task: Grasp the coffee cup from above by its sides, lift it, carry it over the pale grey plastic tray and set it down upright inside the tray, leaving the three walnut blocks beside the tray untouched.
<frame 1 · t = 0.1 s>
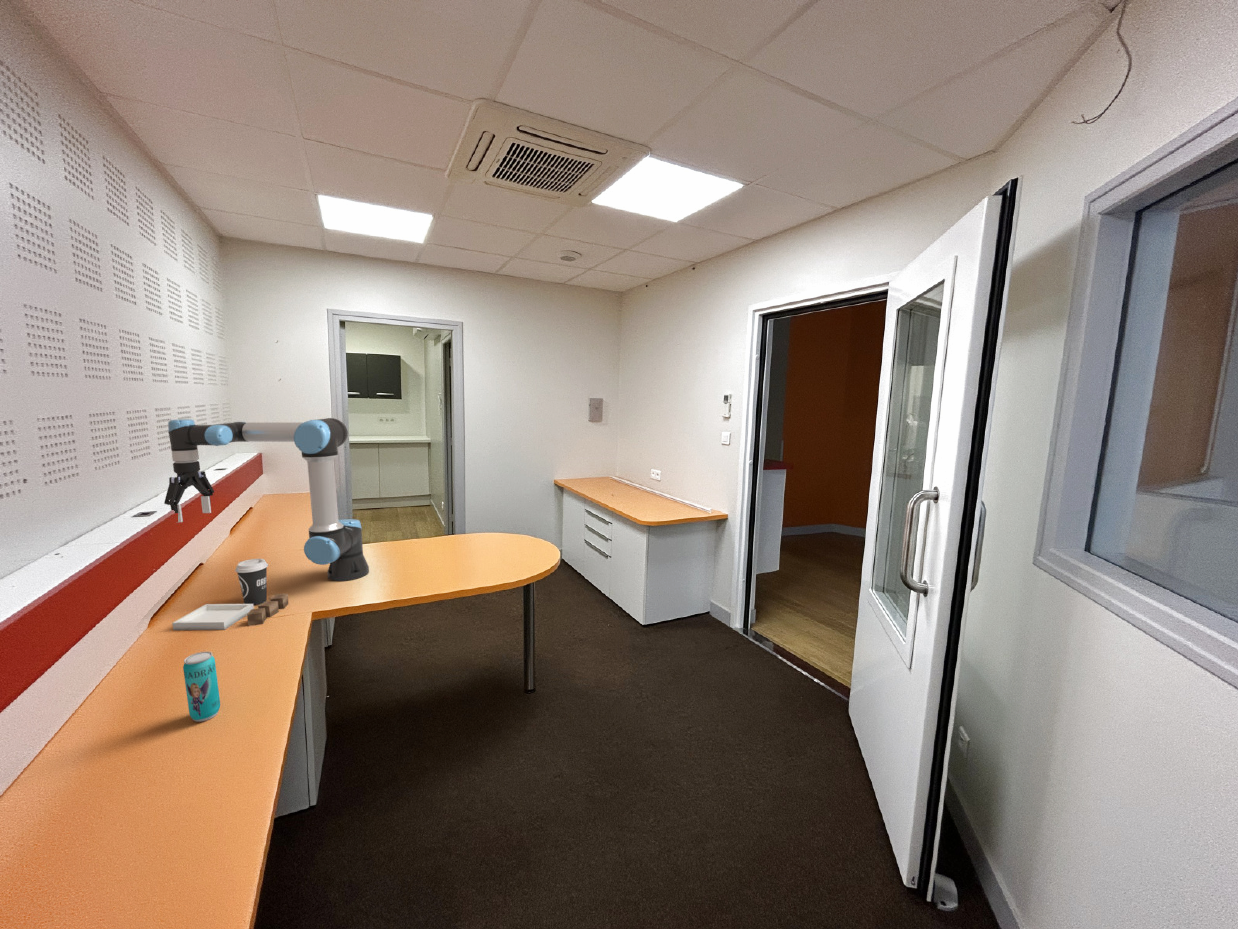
hand: (193, 517, 194), 28 cm above the table, fingers open, 13 cm apart
coffee cup: (255, 602, 185), on the table
beverage can: (206, 716, 122), on the table
block b: (269, 614, 176), on the table
block a: (279, 607, 182), on the table
block c: (257, 622, 170), on the table
tray: (215, 620, 171), on the table
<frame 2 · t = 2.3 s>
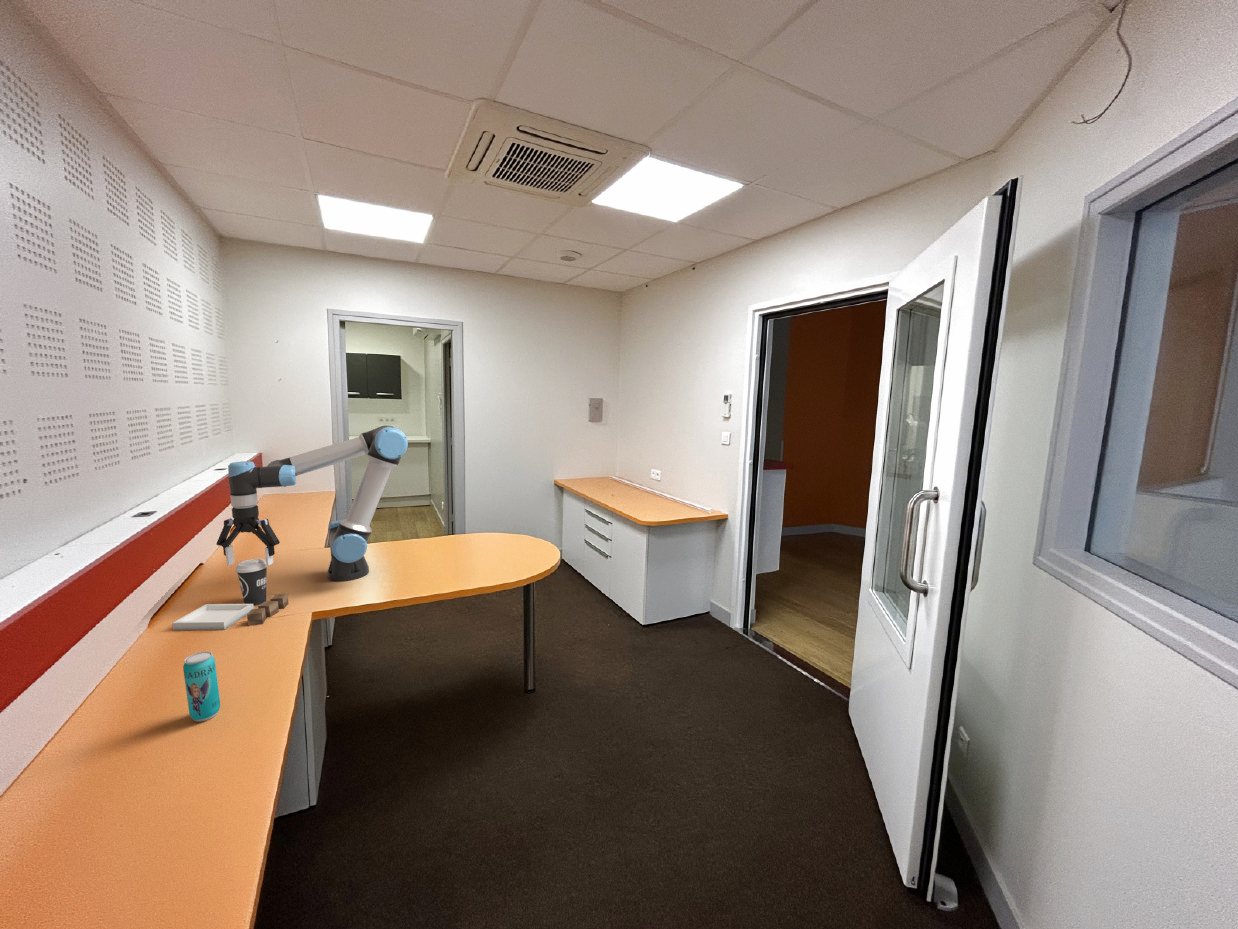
hand: (250, 564, 183), 14 cm above the table, fingers open, 13 cm apart
nothing on the table moved.
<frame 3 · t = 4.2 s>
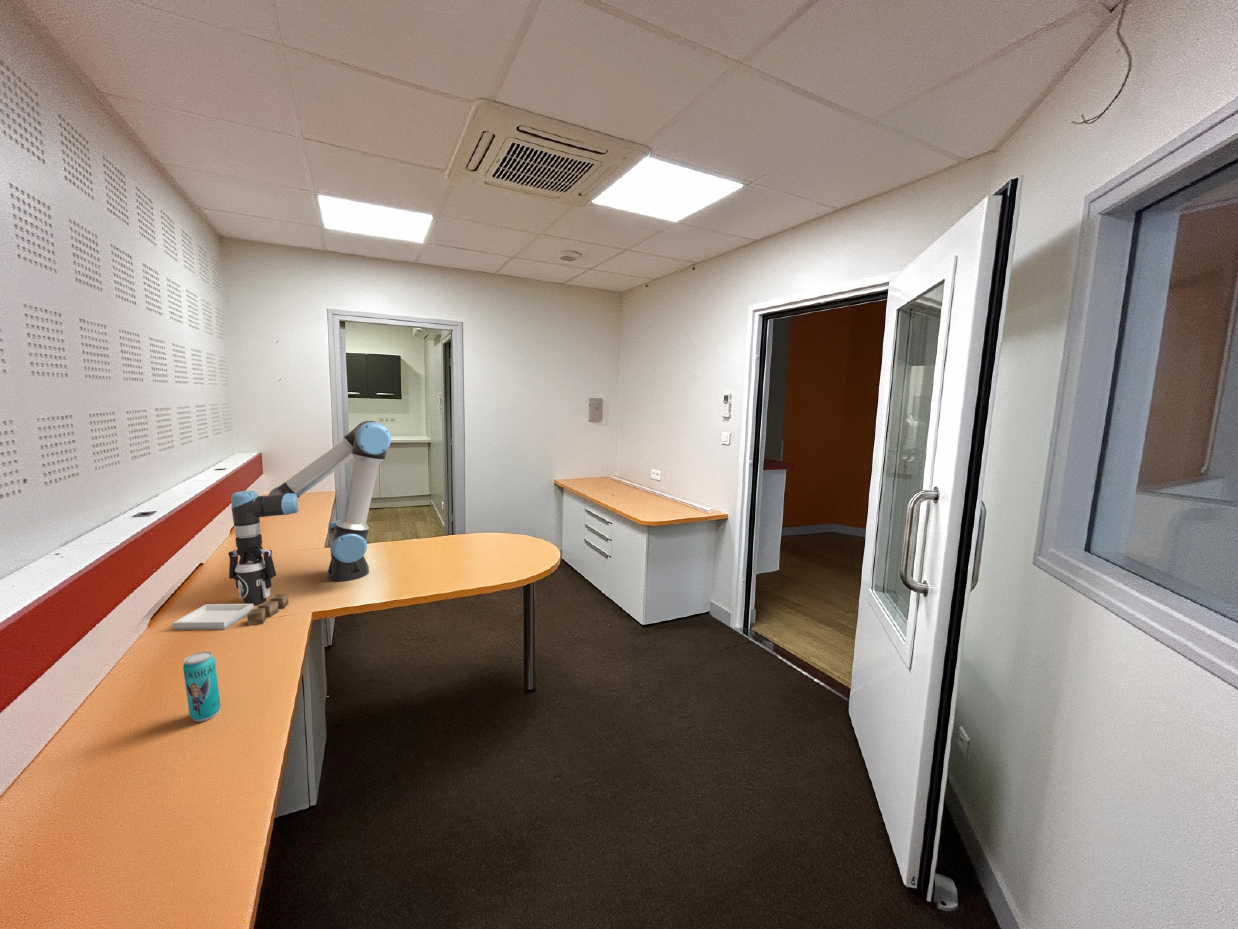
hand: (255, 596, 185), 2 cm above the table, fingers closed on coffee cup, 8 cm apart
coffee cup: (255, 602, 185), on the table, touching gripper
everything else where it was.
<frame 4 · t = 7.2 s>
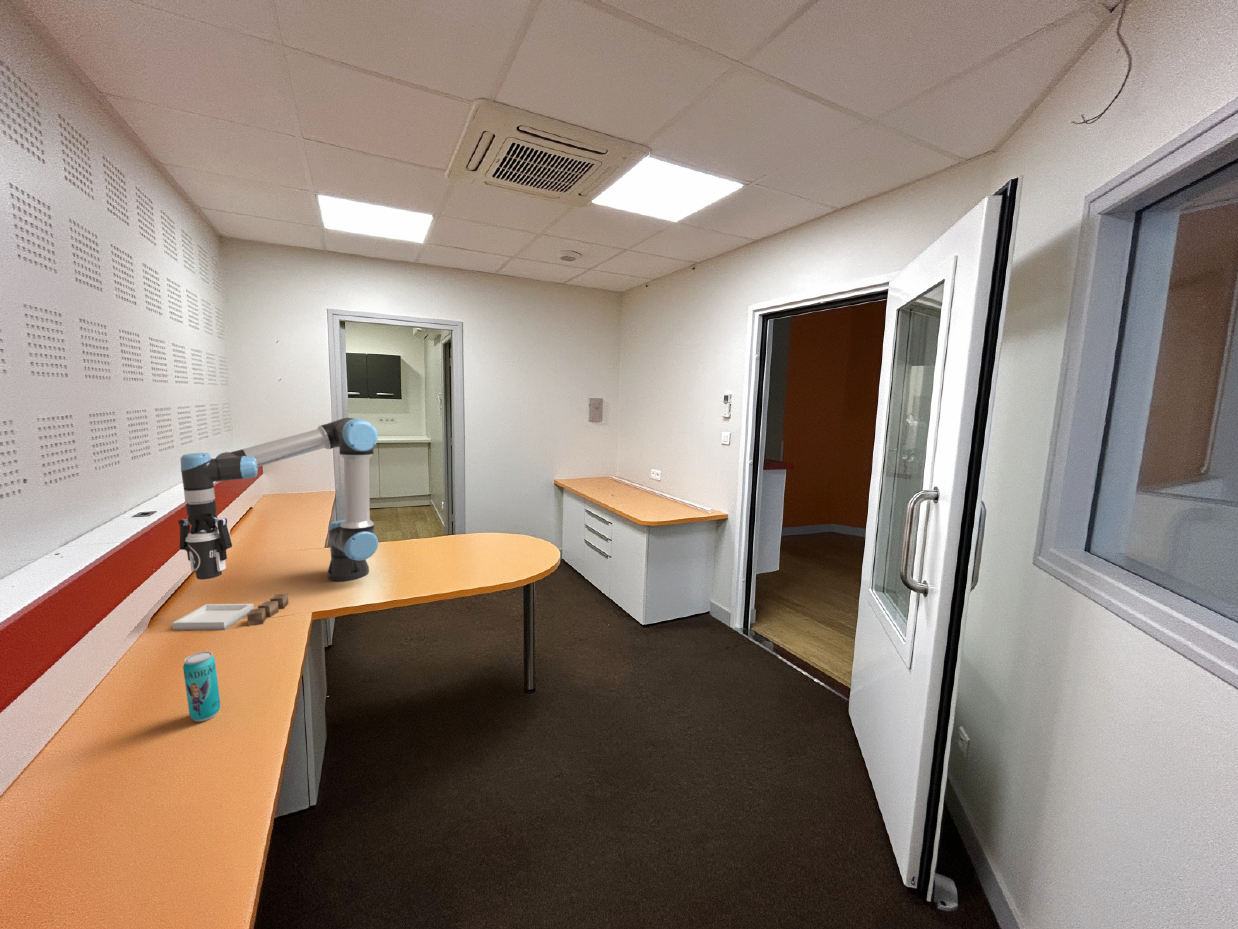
hand: (208, 569, 169), 17 cm above the table, fingers closed on coffee cup, 8 cm apart
coffee cup: (209, 576, 169), point 15 cm above the table, touching gripper
everything else where it was.
when the fingers open (5 cm above the table, at t = 10.2 s): coffee cup drops 1 cm, point 1 cm above the table.
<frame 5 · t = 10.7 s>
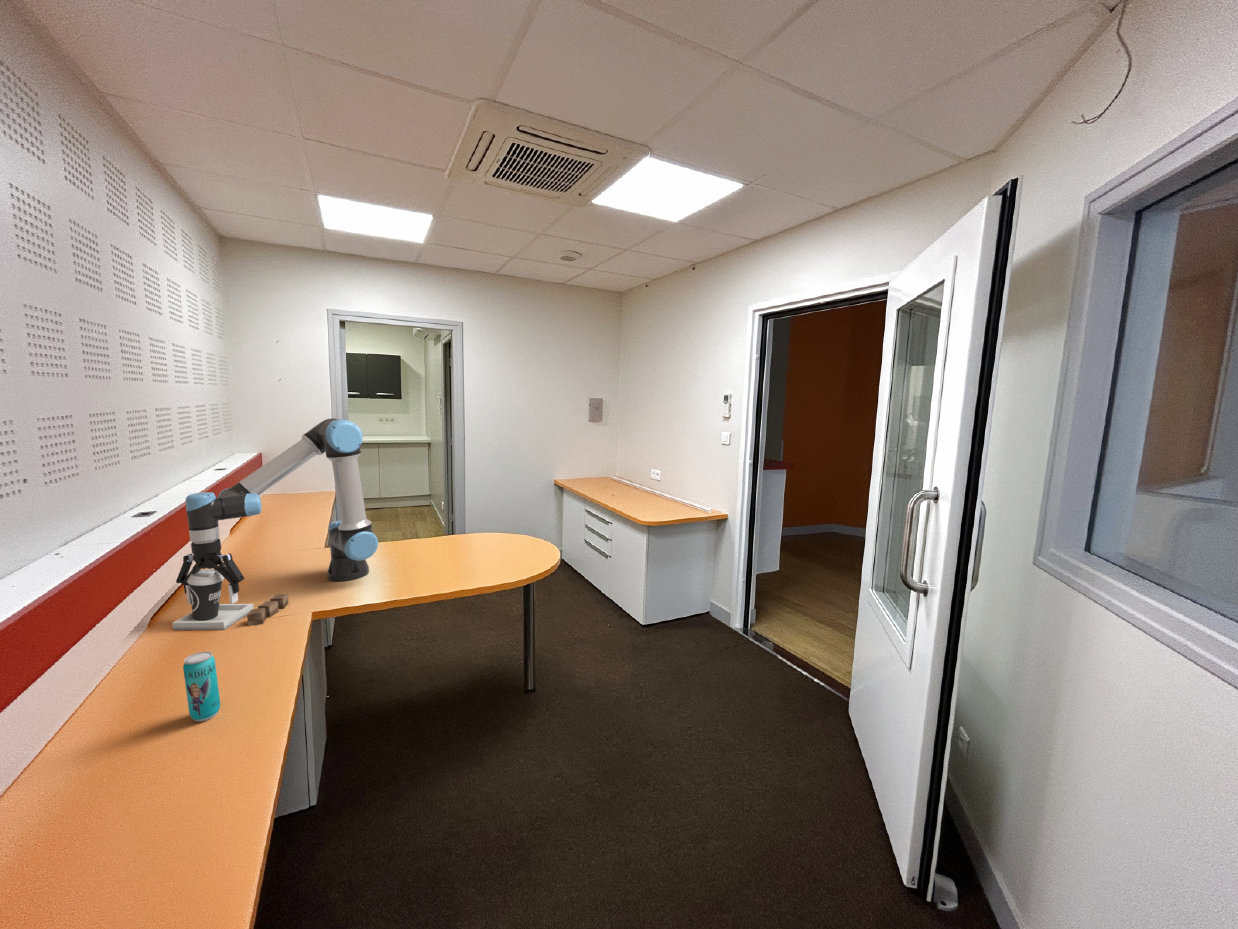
hand: (213, 602, 171), 6 cm above the table, fingers open, 13 cm apart
coffee cup: (205, 616, 171), point 1 cm above the table, touching gripper
everything else where it was.
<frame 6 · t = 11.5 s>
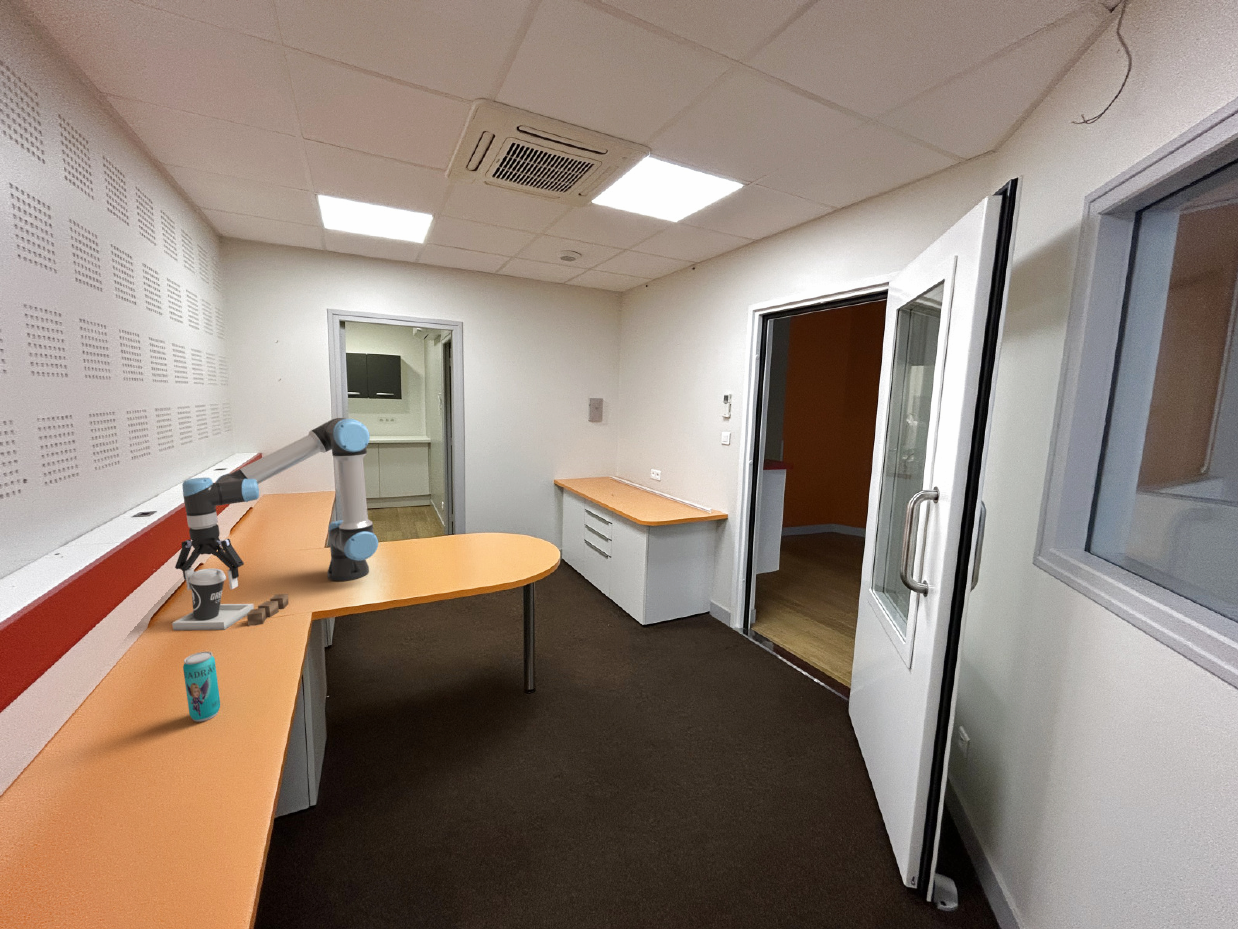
hand: (213, 588, 170), 11 cm above the table, fingers open, 13 cm apart
coffee cup: (206, 616, 172), point 1 cm above the table, touching tray
everything else where it was.
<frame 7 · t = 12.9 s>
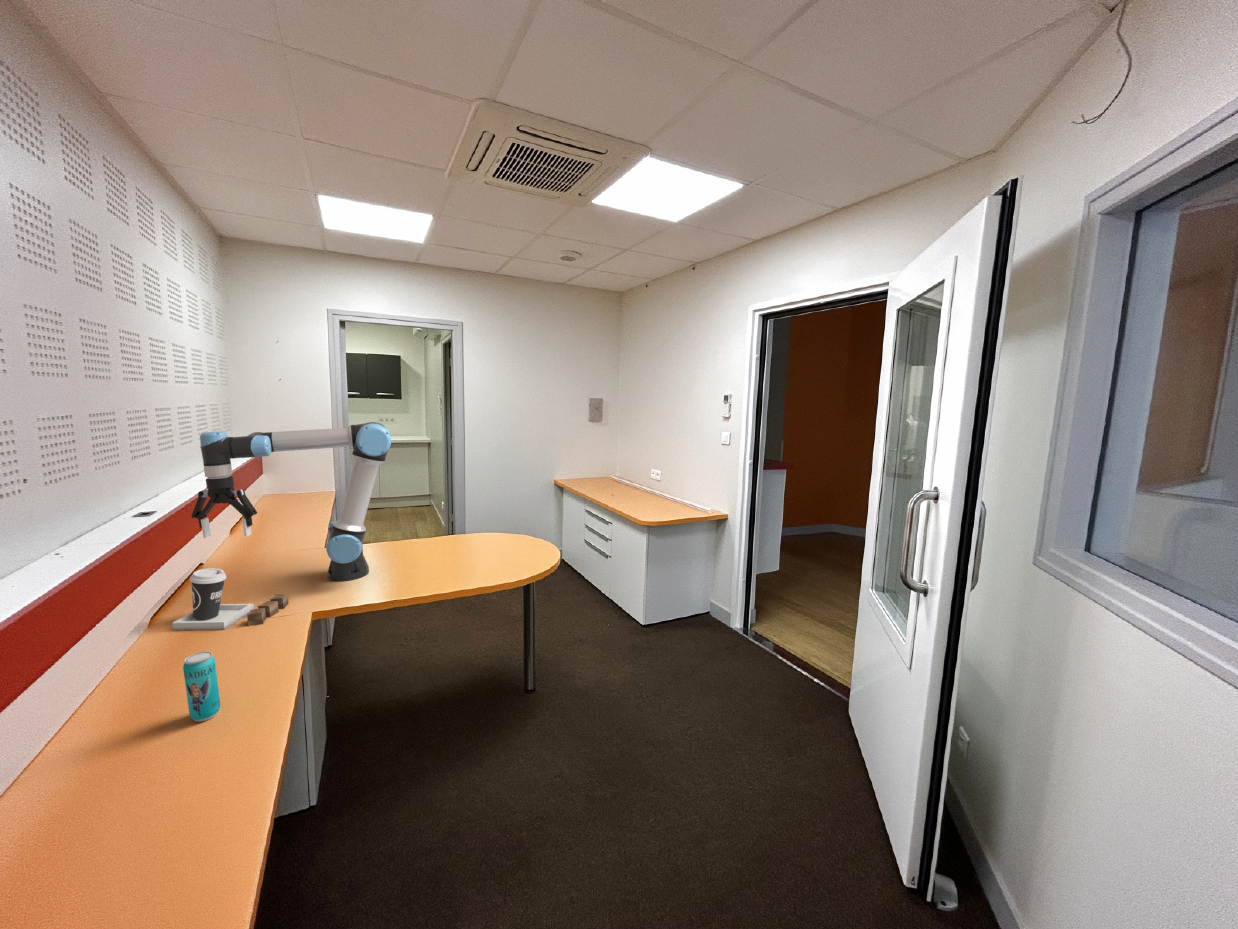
hand: (227, 536, 181), 25 cm above the table, fingers open, 13 cm apart
nothing on the table moved.
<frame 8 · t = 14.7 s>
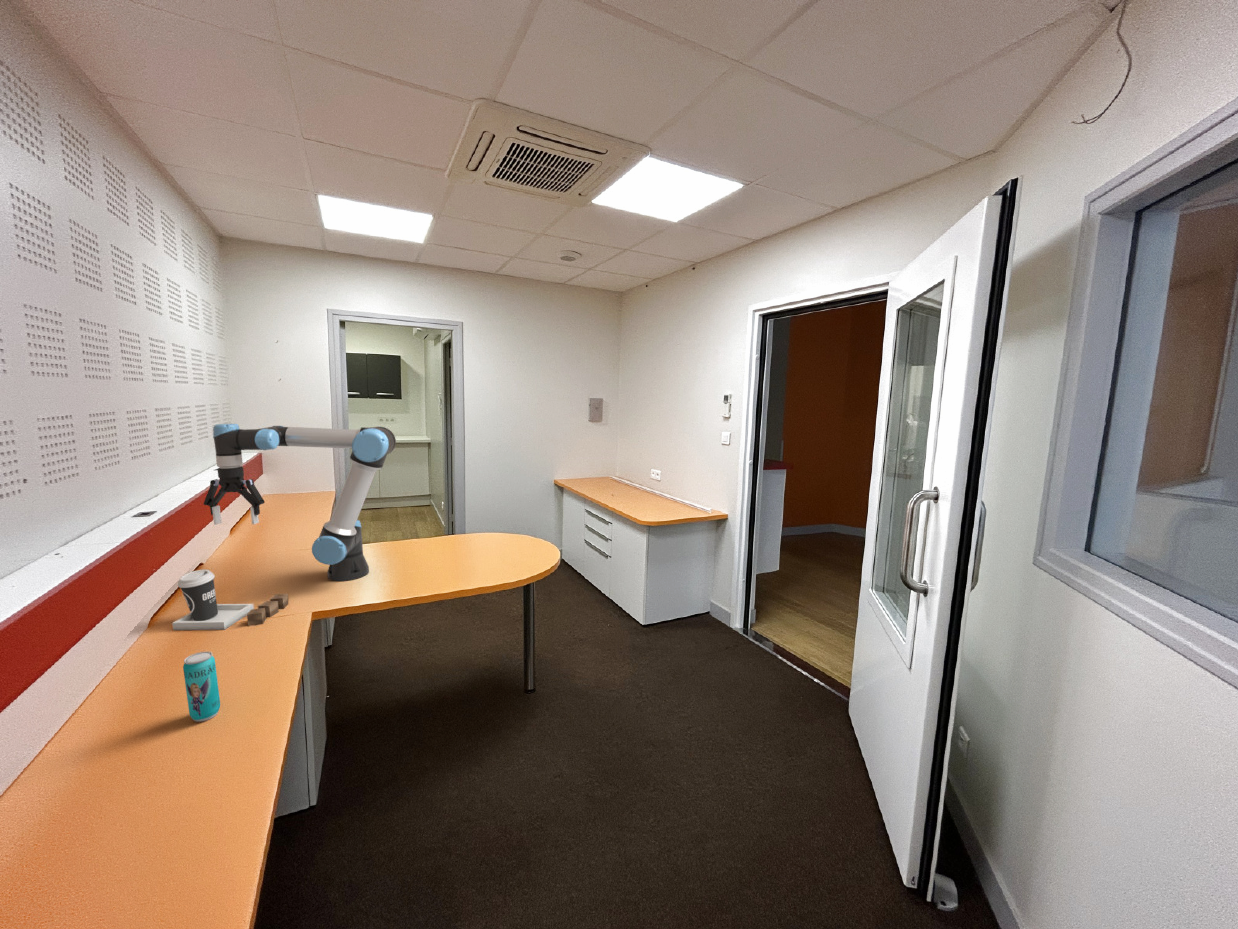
hand: (236, 523, 190), 27 cm above the table, fingers open, 13 cm apart
at the end: coffee cup inside the target area on the tray (3.4 cm from its centre), point 0.8 cm above the tray's base; coffee cup tilted 3°; the gripper is holding nothing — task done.
